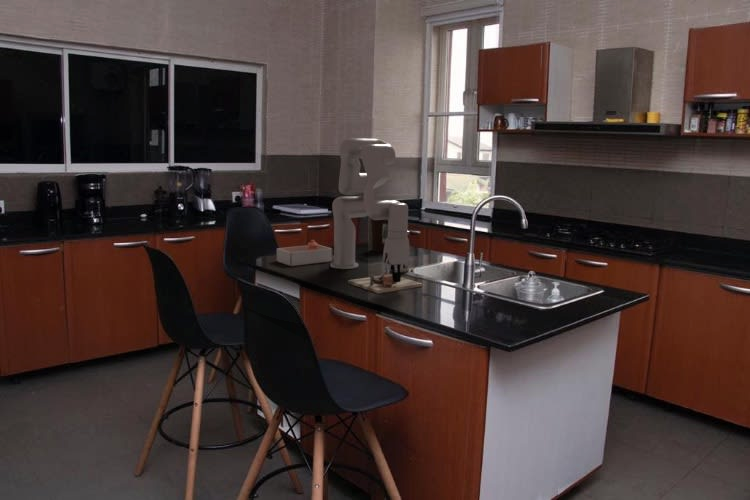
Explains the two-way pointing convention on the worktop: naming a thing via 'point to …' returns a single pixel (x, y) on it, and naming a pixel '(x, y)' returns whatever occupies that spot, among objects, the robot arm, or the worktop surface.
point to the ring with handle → (384, 280)
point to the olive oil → (379, 234)
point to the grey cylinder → (384, 272)
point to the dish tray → (303, 255)
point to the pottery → (312, 245)
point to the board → (380, 288)
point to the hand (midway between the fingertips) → (396, 281)
